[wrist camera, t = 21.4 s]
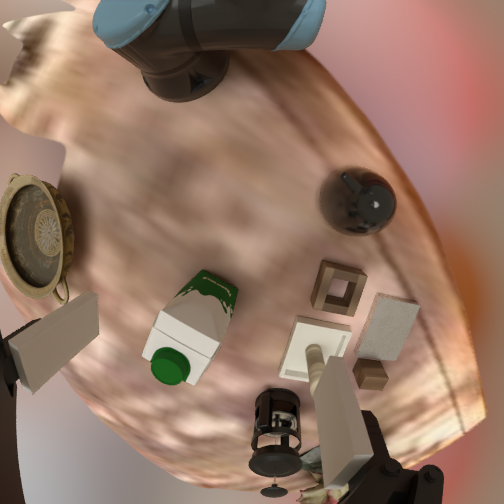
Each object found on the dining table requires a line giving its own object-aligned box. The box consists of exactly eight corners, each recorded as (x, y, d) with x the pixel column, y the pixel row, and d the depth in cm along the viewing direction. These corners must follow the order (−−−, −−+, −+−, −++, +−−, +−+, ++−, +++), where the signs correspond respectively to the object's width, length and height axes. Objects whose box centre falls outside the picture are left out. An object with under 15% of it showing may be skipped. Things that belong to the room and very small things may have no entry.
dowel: (307, 342, 47) (314, 384, 35) (323, 345, 47) (333, 386, 35) (303, 355, 48) (308, 398, 36) (318, 358, 47) (326, 401, 36)
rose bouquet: (370, 414, 51) (401, 519, 22) (394, 460, 55) (417, 535, 26) (273, 451, 56) (266, 551, 26) (318, 489, 60) (321, 563, 30)
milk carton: (179, 303, 48) (129, 365, 29) (200, 261, 46) (150, 309, 27) (222, 327, 48) (192, 401, 29) (246, 286, 46) (225, 351, 27)
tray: (296, 315, 47) (297, 322, 44) (349, 325, 46) (352, 332, 44) (278, 369, 49) (278, 377, 47) (327, 377, 49) (329, 384, 47)
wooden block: (358, 358, 48) (365, 376, 42) (379, 360, 47) (388, 378, 41) (352, 370, 48) (359, 388, 42) (373, 372, 48) (382, 390, 42)
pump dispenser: (339, 154, 40) (369, 137, 25) (387, 195, 41) (434, 199, 26) (302, 204, 43) (315, 211, 28) (351, 244, 43) (385, 269, 28)
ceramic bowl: (121, 266, 48) (91, 282, 38) (60, 310, 52) (34, 328, 42) (62, 140, 43) (30, 136, 34) (12, 204, 48) (-17, 208, 38)
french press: (306, 412, 52) (313, 500, 29) (266, 423, 53) (259, 508, 31) (288, 376, 50) (289, 472, 27) (244, 389, 51) (227, 481, 29)
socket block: (321, 260, 44) (325, 266, 40) (360, 269, 44) (367, 276, 40) (310, 299, 46) (313, 308, 42) (348, 307, 45) (353, 316, 42)
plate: (375, 291, 45) (380, 297, 43) (414, 300, 45) (420, 305, 42) (352, 349, 48) (355, 356, 45) (391, 354, 47) (395, 360, 45)
